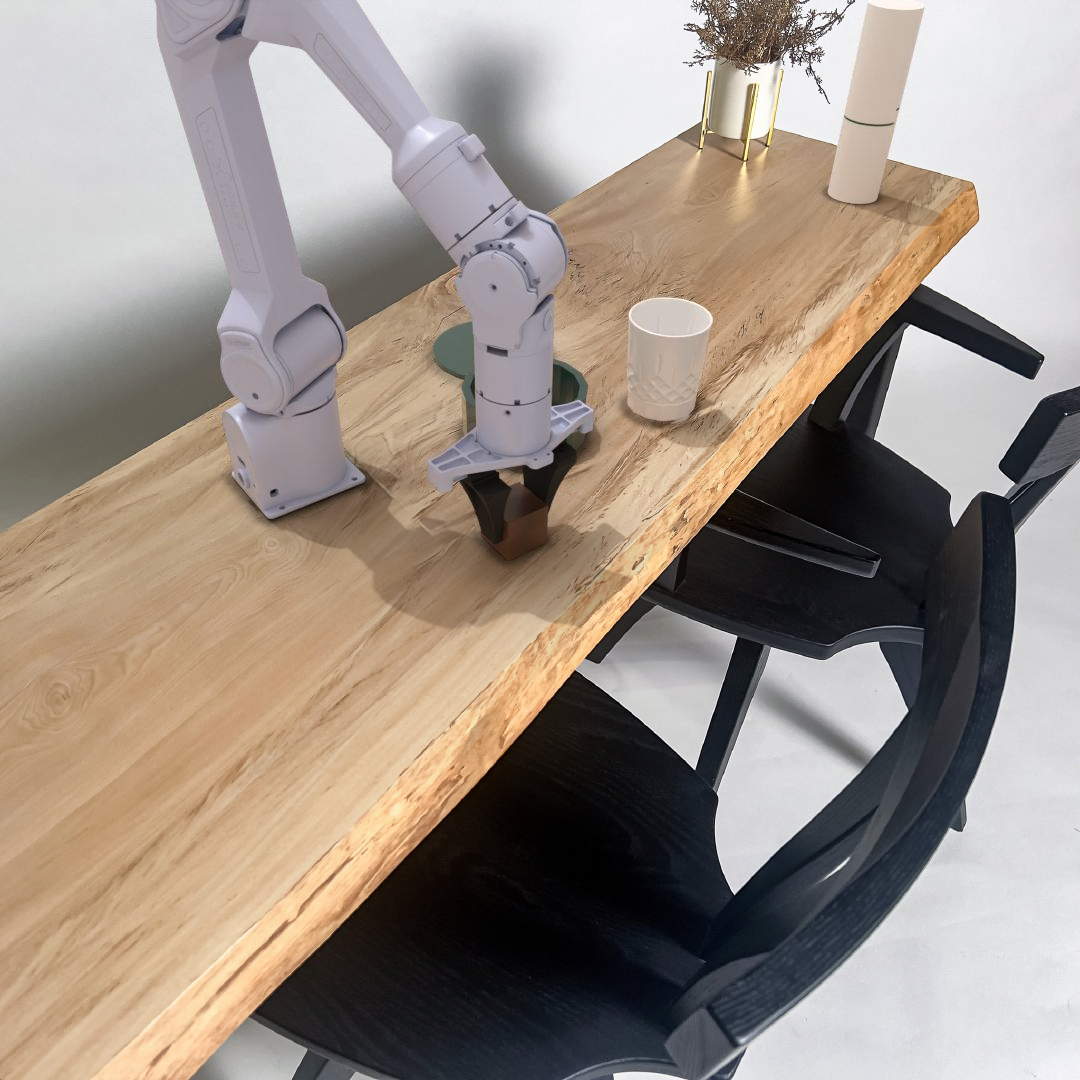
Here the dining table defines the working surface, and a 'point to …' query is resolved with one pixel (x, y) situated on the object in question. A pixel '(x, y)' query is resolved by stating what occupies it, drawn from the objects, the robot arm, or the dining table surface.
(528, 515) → the block
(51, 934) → the dining table surface
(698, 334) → the white cup
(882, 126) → the cylindrical container
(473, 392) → the crock
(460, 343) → the lid
